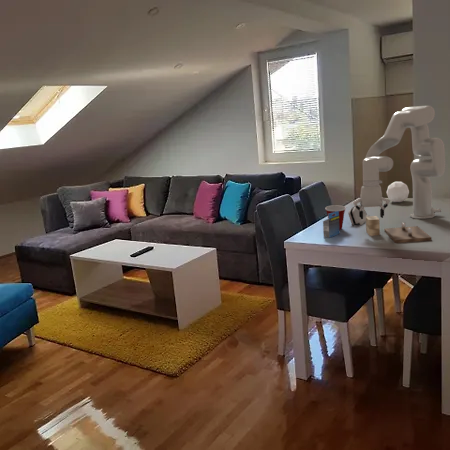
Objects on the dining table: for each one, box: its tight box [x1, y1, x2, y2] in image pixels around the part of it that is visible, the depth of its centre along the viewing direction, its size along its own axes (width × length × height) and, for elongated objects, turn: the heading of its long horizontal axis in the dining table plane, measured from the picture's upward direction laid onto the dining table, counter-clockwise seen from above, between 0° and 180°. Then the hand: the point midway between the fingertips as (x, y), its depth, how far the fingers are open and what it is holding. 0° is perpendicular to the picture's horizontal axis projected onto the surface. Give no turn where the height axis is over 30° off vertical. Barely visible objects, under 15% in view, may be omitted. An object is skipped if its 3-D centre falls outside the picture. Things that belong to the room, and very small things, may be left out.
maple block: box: [365, 215, 381, 237], centre depth 245 cm, size 5×8×8 cm, turn 175°
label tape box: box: [322, 211, 340, 239], centre depth 248 cm, size 9×4×12 cm, turn 133°
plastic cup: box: [324, 204, 347, 231], centre depth 260 cm, size 11×11×12 cm
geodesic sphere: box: [386, 180, 410, 203], centre depth 311 cm, size 14×14×14 cm
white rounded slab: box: [348, 204, 370, 226], centre depth 272 cm, size 17×5×10 cm, turn 146°
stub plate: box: [384, 222, 432, 244], centre depth 235 cm, size 16×22×5 cm
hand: (371, 217), depth 244 cm, fingers open, 9 cm apart
